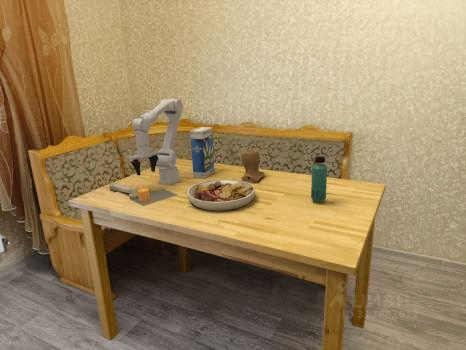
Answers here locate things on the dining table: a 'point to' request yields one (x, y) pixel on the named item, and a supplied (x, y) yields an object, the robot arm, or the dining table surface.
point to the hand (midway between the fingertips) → (146, 173)
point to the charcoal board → (156, 197)
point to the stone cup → (251, 166)
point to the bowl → (221, 194)
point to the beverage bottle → (319, 180)
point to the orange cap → (143, 195)
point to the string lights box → (202, 152)
